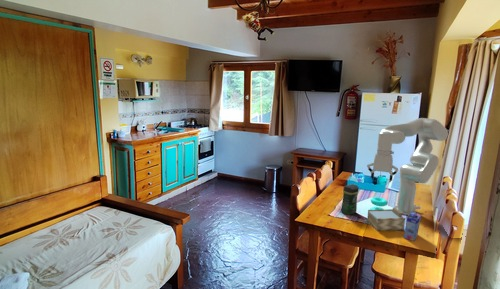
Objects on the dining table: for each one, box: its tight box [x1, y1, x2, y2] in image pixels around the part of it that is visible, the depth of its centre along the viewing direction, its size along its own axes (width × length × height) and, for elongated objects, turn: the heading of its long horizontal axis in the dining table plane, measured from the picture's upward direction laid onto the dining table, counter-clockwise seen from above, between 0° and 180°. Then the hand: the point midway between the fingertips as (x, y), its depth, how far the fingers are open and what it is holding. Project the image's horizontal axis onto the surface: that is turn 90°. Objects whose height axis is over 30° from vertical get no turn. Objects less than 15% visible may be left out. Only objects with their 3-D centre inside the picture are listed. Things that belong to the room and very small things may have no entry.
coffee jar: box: [340, 183, 360, 216], centre depth 191 cm, size 10×8×19 cm
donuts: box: [369, 196, 389, 210], centre depth 191 cm, size 10×10×10 cm
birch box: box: [366, 208, 406, 232], centre depth 175 cm, size 16×12×8 cm
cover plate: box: [369, 207, 404, 221], centre depth 174 cm, size 16×10×4 cm, turn 95°
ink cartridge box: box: [403, 212, 422, 242], centre depth 163 cm, size 10×6×14 cm, turn 140°
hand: (381, 180), depth 178 cm, fingers open, 9 cm apart
